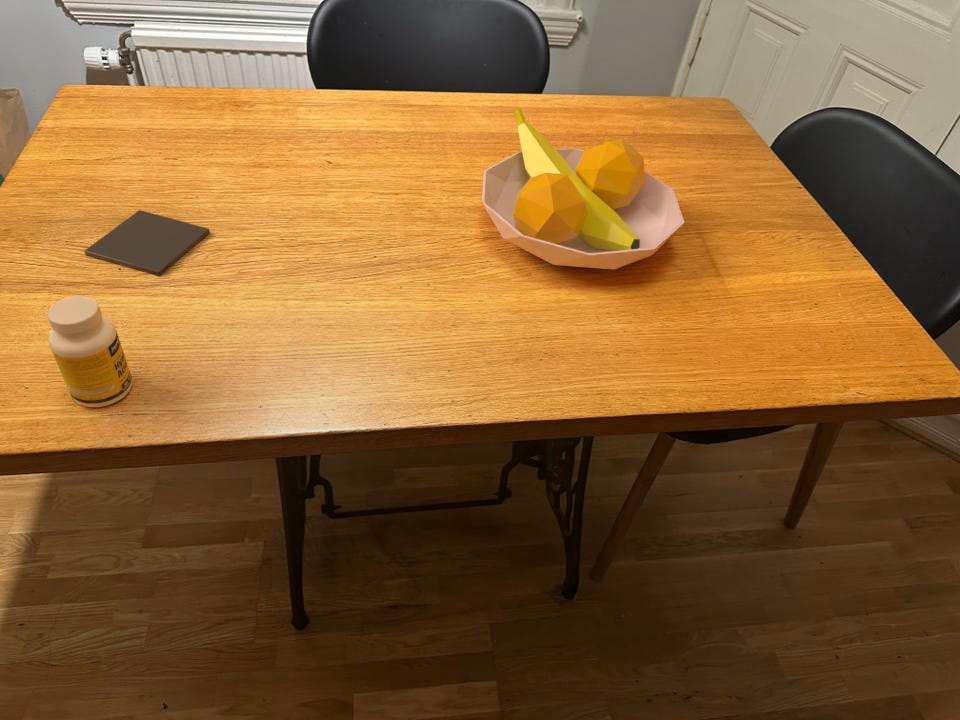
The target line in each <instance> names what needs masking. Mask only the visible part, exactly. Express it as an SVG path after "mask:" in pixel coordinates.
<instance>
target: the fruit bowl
mask: <svg viewBox="0 0 960 720" xmlns="http://www.w3.org/2000/svg"><path fill="white" fill-rule="evenodd" d="M513 114H514V116H515V119H516V122H517V124H518V125H517V126H516V127H517V134H518V138H519V144H520V147H521V150H519V151H517V152H515V153H514V154H511V155H510V156H508V157H506V158H504V159H503V160H501V161H499V162H497V163H495V164H493V165H491V166H489V167H488V168H486V169H484V170H483V176H482V192H481V193H482V194H481V204H482V206H483V207H484V209H485V211H486V212H487V214H488V216H489V218H490V219H491V221H492V222H493V224H494V225H495V228H496V229H497V231H498V233H499V234H500V236H501V238H502V239H503V240H504V241H507V242H509V243H511V244H512V245H515V246H517V247H518V248H521V249H522V250H524V251H526V252H528V253H530V254H532V255H534V256H536V257H537V258H540V259H542V260H544V261H545V262H547V263H549V264H552V265H553V266H565V267H576V268H577V267H578V268H587V269H588V268H589V269H590V268H592V269H600V270H601V269H603V270H617V269H619V268H622V267H625V266H627V265H630V264H633V263H636V262H638V261H640V260H643V259H646V258H649V257H651V256H653V255H654V254H656V252H657V251H658V250H659V249H661V247H663V245H664V244H666V242H667V241H668V240H669V239H670V238H671V237H672V236H673V235H674V234H675V233H676V232H677V231H678V230H679V229H680V228H681V227H682V226H683V225H684V224H685V223H686V222H685V220H684V217H683V214H682V211H681V208H680V204H679V202H678V198H677V196H676V194H675V193H676V192H675V190H674V188H672V187H671V186H669V185H667V183H664V182H663V181H661V180H660V179H658V178H656V176H654V175H652V174H650V173H649V172H648V171H646V170H645V160H644V158H645V157H644V155H643V154H641V153H640V152H639V151H638V150H637V149H636V148H634V147H633V146H632V145H631V144H629V143H628V142H627V140H625V139H624V138H623V137H619V138H616V139H612V140H608V141H607V142H604V143H601V144H599V145H595V146H593V147H590V148H589V149H585V150H584V149H579V148H576V147H570V148H569V147H567V148H555V147H554V146H553V145H552V144H551V143H550V142H549V141H548V140H547V139H546V138H545V137H544V136H543V135H542V134H541V133H540V132H539V131H537V129H536V128H535V127H534V126H533V125H532V124H531V123H530V122H526V119H525V116H524V114H523V111H522V108H517V109H515V110H513Z"/></svg>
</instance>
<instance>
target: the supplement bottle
mask: <svg viewBox="0 0 960 720" xmlns="http://www.w3.org/2000/svg"><path fill="white" fill-rule="evenodd" d="M46 314H47V315H46V316H47V319H48V321H49V324H50V326H51V330H50V331H49V333H48V339H47V340H48V345H49V347H50V349H51V352H52V355H53V357H54V359H55V361H56V364H57V366H58V369H59V371H60V373H61V376H62V379H63V381H64V382H65V383H64V384H65V385H66V388H67V390H68V391H69V394H70V396H71V398H72V400H73V401H74V402H75V403H77V404H78V405H81V406H82V407H85V408H86V407H87V408H102V407H107V406H110V405H112V404H114V403H117V402H119V401H120V400H122V399H123V398H124V397H126V396H127V395H128V394H129V392H130V391H131V388H132V385H133V377H132V373H131V371H130V367H129V365H128V362H127V359H126V355H125V352H124V349H123V346H122V343H121V340H120V337H119V335H118V332H117V329H116V327H115V324H114V323H113V322H112V320H111V319H109V318H108V317H106V316H105V315H103V314H102V311H101V308H100V305H99V303H98V301H97V300H95V299H94V298H93V297H90V296H86V295H73V296H68V297H64V298H62V299H59V300H58V301H56V302H54V303H53V304H52V305H51V306H50V307H49V309H48V310H47V313H46Z"/></svg>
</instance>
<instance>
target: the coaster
mask: <svg viewBox="0 0 960 720" xmlns="http://www.w3.org/2000/svg"><path fill="white" fill-rule="evenodd" d="M210 231H211V230H210V228H208V227H204V226H200V225H196V224H193V223H189V222H186V221H182V220H178V219H174V218H171V217H167V216H163V215H160V214H156V213H153V212H148V211H145V210H141V209H138V210H137V211H136V212H134V214H132V215H131V216H129V217H128V218H127V219H125V220H123V222H121V223H120V224H118V225H117V226H115V227H114V228H112V230H110V231H109V232H108V233H106V234H105V235H104V236H102V237H101V238H99V239H98V240H96V241H95V242H94V243H92V244H91V245H90V246H89V247H87V248H86V249H84V251H83V252H84V254H85V256H89V257H92V258H96V259H99V260H102V261H106V262H109V263H113V264H116V265H120V266H122V267H123V266H124V267H127V268H131V269H134V270H136V271H141V272H144V273H148V274H152V275H155V276H159V277H161V276H163V274H164V273H165V272H166V271H168V270H169V269H170V268H171V267H172V266H173V265H174V264H176V263H177V262H178V261H179V260H180V259H181V258H183V257H184V256H185V255H186V254H187V253H188V252H189V251H191V250H192V249H193V248H194V247H195V246H196V245H198V244H199V243H200V242H201V241H202V240H203V239H204V238H206V237H207V236H208V235H209V234H210V233H211V232H210Z"/></svg>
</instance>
